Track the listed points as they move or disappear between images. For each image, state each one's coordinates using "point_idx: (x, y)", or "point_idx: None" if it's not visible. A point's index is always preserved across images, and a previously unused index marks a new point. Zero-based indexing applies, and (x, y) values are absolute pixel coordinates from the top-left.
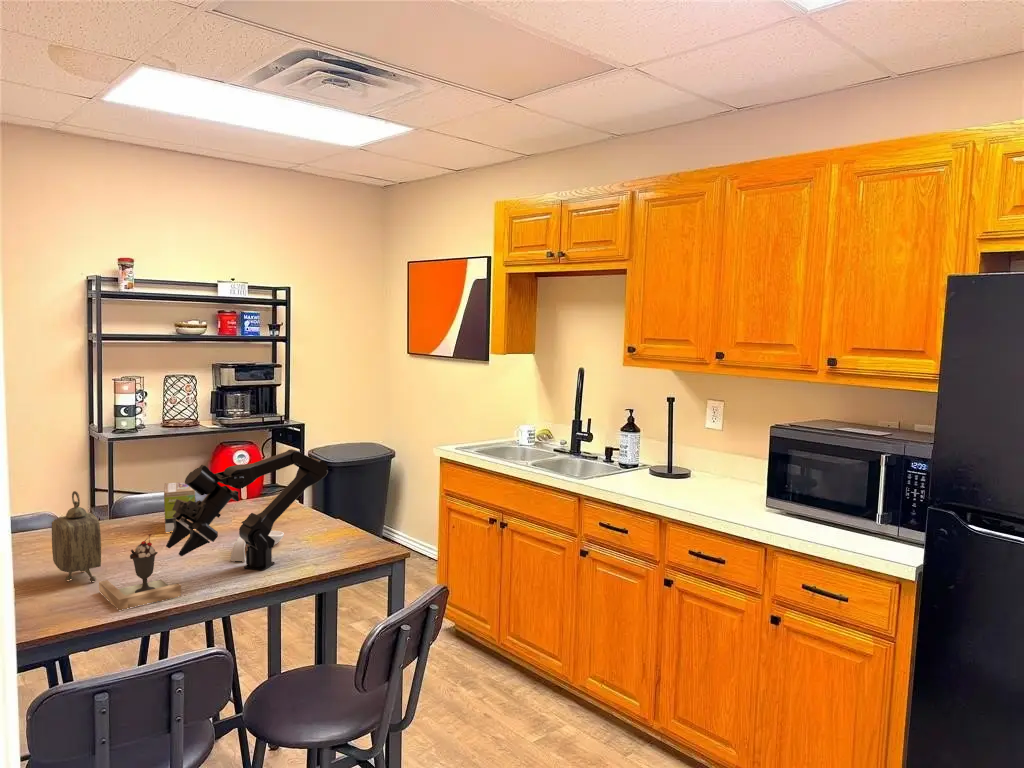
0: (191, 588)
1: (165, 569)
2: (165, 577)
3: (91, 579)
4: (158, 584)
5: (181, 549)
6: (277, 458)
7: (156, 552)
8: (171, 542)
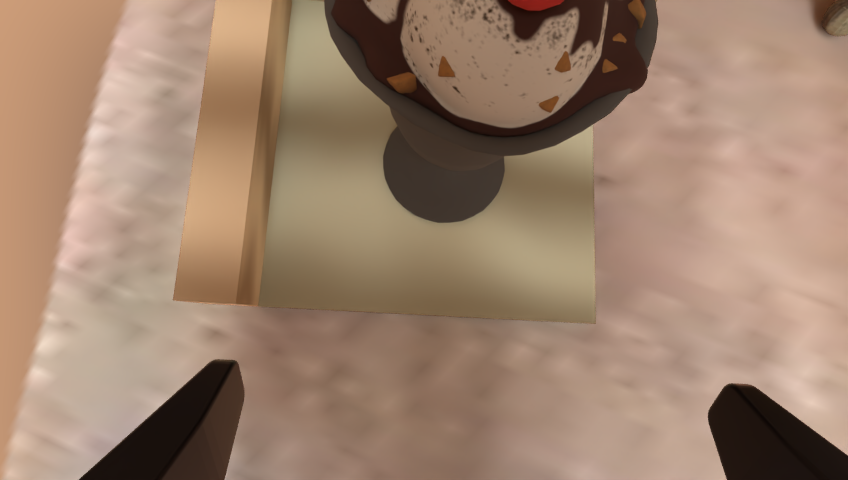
0: (307, 423)
1: None
2: (654, 379)
3: (838, 2)
4: (510, 272)
5: (180, 414)
6: None
7: (481, 140)
8: (772, 476)
